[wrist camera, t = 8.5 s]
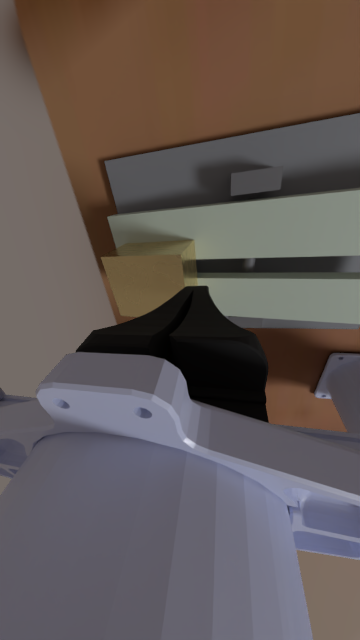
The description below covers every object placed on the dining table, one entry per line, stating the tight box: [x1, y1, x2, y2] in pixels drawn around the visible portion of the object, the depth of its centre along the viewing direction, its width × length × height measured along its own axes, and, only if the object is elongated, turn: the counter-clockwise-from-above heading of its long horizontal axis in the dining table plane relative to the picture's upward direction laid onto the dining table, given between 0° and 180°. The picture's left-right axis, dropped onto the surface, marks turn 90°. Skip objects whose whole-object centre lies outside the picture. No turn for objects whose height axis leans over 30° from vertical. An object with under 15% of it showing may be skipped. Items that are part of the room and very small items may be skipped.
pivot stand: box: [104, 113, 360, 329], centre depth 17 cm, size 22×16×4 cm
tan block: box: [101, 240, 198, 317], centre depth 16 cm, size 6×5×4 cm
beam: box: [107, 188, 360, 324], centre depth 16 cm, size 22×9×2 cm, turn 97°
